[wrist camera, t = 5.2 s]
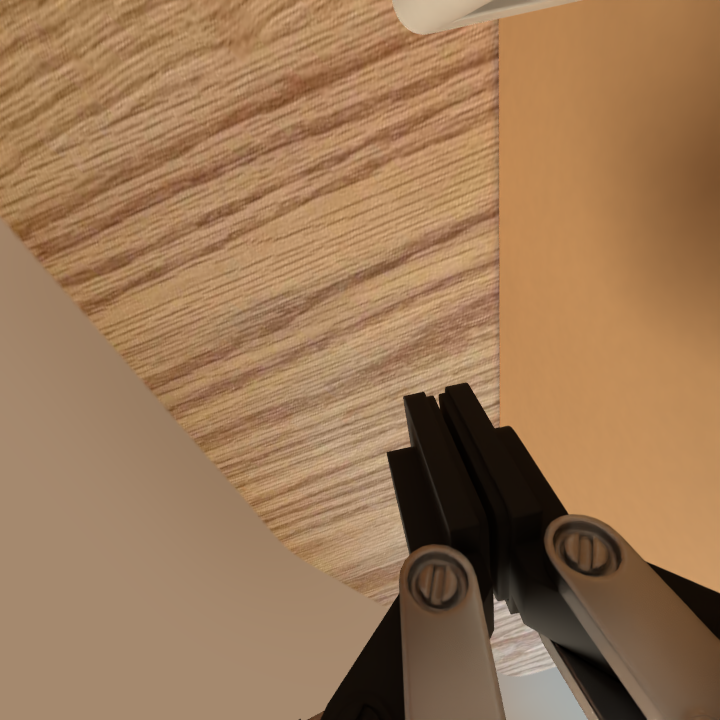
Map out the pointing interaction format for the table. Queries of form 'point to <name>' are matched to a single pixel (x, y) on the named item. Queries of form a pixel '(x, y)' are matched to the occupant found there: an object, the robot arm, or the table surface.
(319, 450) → the table surface
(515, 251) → the cupboard door
